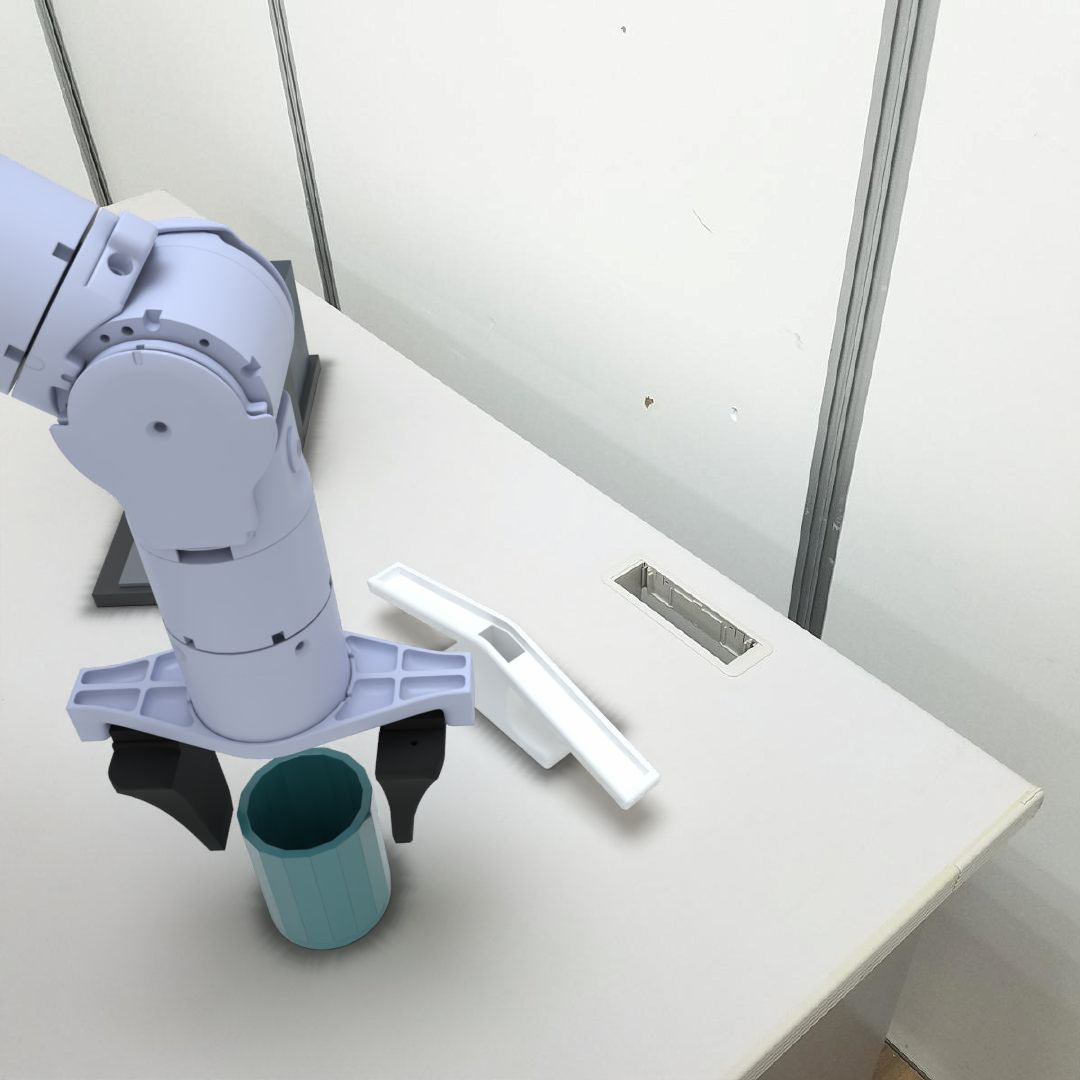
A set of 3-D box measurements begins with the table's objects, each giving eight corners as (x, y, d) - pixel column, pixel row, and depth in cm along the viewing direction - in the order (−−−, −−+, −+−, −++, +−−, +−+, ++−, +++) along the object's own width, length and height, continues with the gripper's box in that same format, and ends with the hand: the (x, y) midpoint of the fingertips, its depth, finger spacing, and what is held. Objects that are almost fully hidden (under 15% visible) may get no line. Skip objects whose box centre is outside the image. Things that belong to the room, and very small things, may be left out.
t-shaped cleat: (428, 581, 66) (418, 509, 62) (685, 790, 55) (692, 717, 51) (371, 616, 64) (358, 543, 60) (626, 840, 53) (628, 767, 49)
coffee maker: (271, 600, 65) (234, 461, 59) (95, 607, 65) (39, 468, 58) (321, 365, 83) (297, 239, 77) (184, 370, 83) (149, 245, 77)
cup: (287, 969, 48) (255, 878, 44) (257, 868, 52) (224, 774, 47) (407, 920, 50) (389, 827, 45) (370, 825, 54) (349, 730, 49)
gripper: (464, 507, 42) (488, 742, 51) (66, 524, 42) (160, 756, 51) (459, 650, 36) (486, 884, 45) (3, 669, 36) (121, 899, 45)
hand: (313, 826), depth 48 cm, fingers open, 7 cm apart
